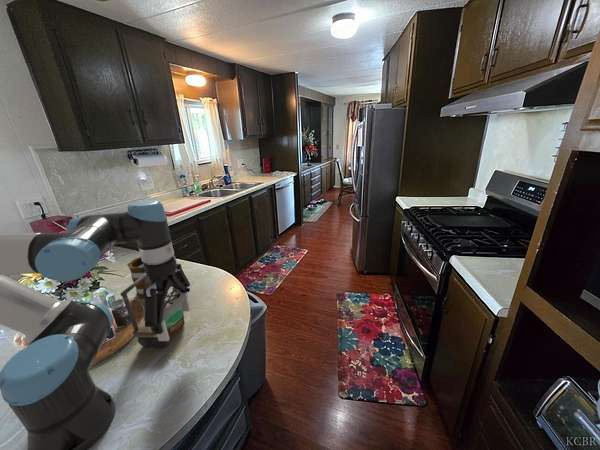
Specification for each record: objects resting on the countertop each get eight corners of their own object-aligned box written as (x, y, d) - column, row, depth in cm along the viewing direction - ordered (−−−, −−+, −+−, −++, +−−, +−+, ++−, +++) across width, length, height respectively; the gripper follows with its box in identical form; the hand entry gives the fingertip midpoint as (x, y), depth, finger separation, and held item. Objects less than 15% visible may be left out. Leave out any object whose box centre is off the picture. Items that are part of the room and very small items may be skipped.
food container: (170, 346, 66) (162, 316, 62) (151, 343, 67) (142, 313, 63) (197, 315, 77) (191, 288, 74) (179, 313, 78) (173, 286, 75)
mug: (168, 294, 107) (160, 264, 101) (133, 302, 102) (122, 272, 97) (172, 273, 124) (166, 246, 119) (142, 279, 119) (134, 252, 114)
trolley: (167, 349, 78) (151, 293, 71) (138, 349, 79) (118, 293, 72) (186, 322, 90) (173, 272, 82) (160, 322, 90) (145, 272, 83)
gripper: (143, 284, 53) (164, 358, 60) (193, 240, 75) (205, 299, 83) (110, 283, 53) (136, 357, 61) (170, 240, 76) (183, 298, 83)
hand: (175, 324), depth 72 cm, fingers closed on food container, 11 cm apart
